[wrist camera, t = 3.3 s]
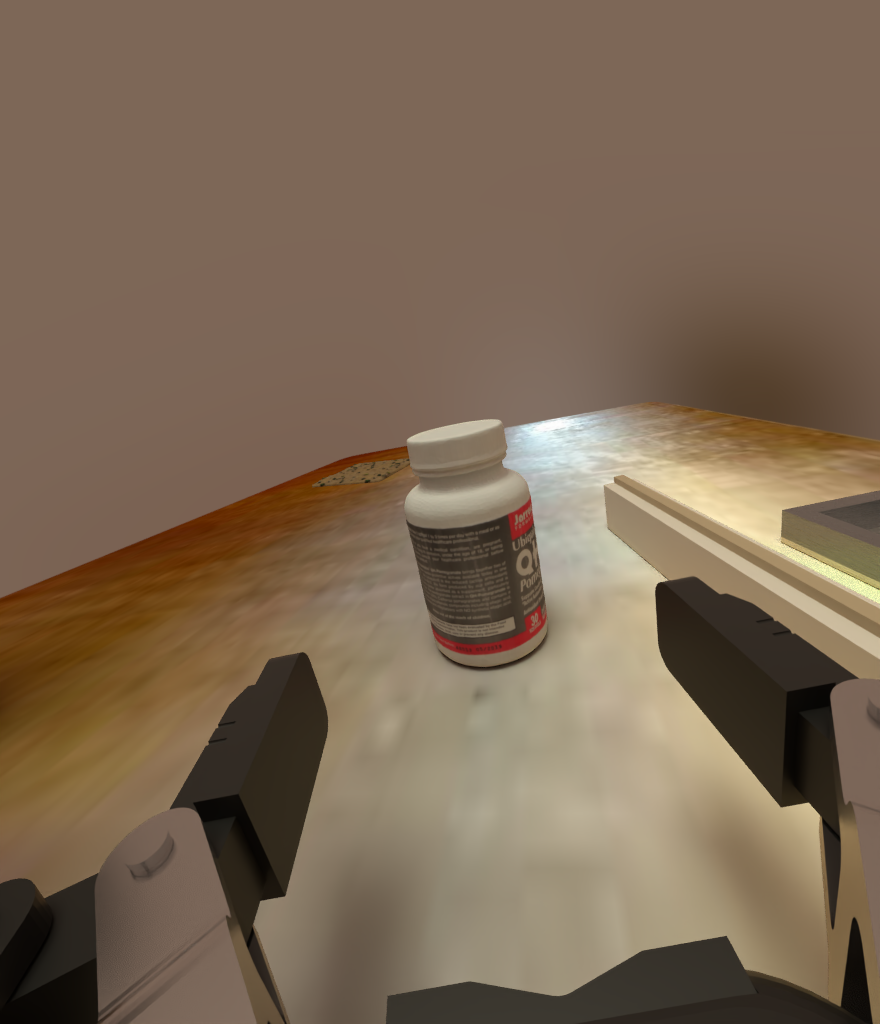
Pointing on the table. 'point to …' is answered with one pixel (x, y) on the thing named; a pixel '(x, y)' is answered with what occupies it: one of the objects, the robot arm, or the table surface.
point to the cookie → (364, 473)
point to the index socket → (839, 534)
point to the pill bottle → (475, 545)
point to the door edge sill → (747, 573)
